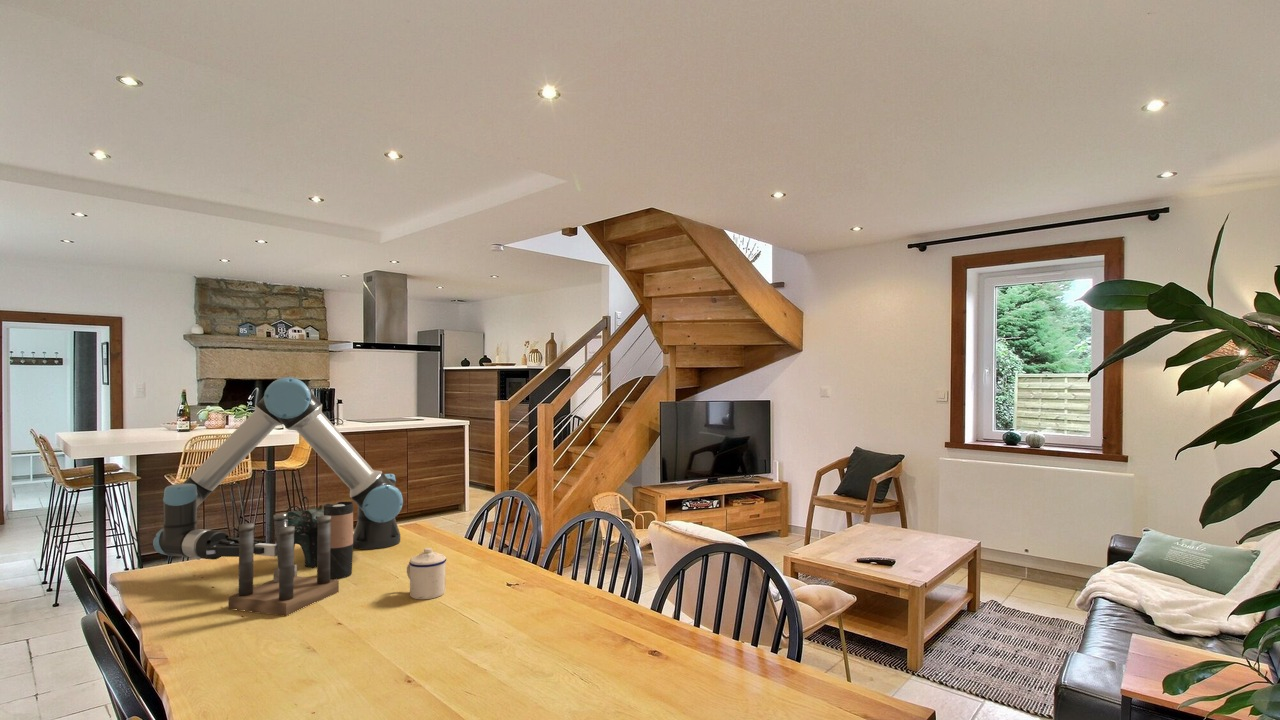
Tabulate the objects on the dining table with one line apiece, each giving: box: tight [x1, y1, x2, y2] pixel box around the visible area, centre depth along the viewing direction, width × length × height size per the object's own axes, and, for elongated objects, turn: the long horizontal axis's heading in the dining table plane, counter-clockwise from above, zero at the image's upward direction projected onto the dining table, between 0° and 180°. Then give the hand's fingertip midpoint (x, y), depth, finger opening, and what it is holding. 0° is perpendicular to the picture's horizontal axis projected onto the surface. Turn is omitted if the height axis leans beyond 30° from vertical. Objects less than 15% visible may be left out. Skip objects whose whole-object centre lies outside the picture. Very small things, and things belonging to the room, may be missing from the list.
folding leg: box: [272, 512, 288, 569], centre depth 166 cm, size 3×3×15 cm
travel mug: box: [323, 501, 354, 580], centre depth 178 cm, size 8×8×20 cm
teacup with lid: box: [406, 547, 447, 600], centre depth 163 cm, size 12×9×12 cm
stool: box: [227, 516, 340, 617], centre depth 158 cm, size 17×17×20 cm
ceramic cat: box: [285, 496, 324, 569], centre depth 190 cm, size 20×6×20 cm, turn 58°
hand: (276, 550), depth 166 cm, fingers closed
